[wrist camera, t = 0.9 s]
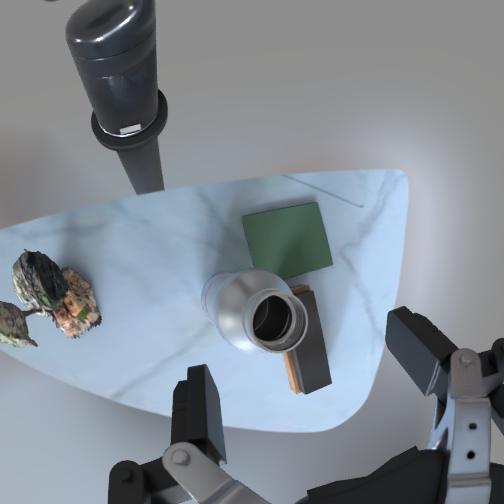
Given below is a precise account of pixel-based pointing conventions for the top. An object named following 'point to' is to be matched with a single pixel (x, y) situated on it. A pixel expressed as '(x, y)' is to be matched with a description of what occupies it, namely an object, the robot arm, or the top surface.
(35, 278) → the plant with pod
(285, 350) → the silver metal bottle
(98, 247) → the top surface
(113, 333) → the top surface
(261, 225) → the drying mat
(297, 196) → the top surface
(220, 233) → the top surface
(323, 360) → the grey and wooden block
